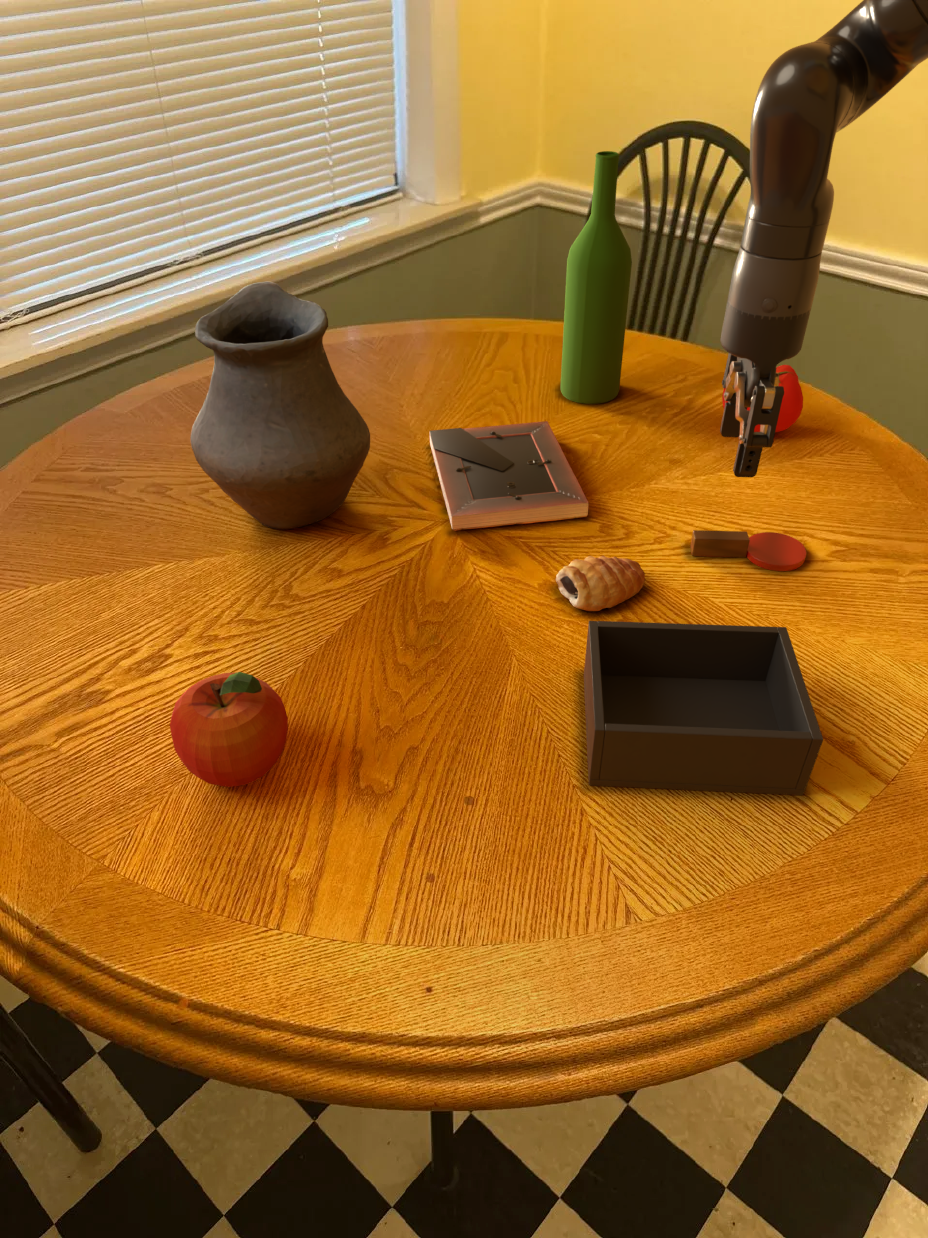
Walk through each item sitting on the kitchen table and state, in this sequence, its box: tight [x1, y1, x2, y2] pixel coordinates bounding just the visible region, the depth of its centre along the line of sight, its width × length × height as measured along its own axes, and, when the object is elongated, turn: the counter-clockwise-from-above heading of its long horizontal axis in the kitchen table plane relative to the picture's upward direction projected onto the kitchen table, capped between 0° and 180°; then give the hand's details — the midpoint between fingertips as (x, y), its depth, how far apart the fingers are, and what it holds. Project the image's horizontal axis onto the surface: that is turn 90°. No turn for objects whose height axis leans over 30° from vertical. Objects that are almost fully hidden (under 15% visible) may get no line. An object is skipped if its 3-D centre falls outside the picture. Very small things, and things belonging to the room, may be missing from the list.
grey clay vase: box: [189, 281, 371, 530], centre depth 100 cm, size 21×22×25 cm
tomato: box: [721, 364, 804, 434], centre depth 118 cm, size 11×11×9 cm
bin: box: [583, 620, 824, 796], centre depth 75 cm, size 18×14×7 cm
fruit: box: [169, 671, 289, 788], centre depth 72 cm, size 10×10×10 cm
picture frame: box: [429, 420, 590, 531], centre depth 110 cm, size 16×2×22 cm
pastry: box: [555, 555, 646, 612], centre depth 92 cm, size 9×7×4 cm
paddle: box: [689, 529, 807, 572], centre depth 97 cm, size 13×7×2 cm, turn 86°
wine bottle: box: [559, 150, 633, 405], centre depth 121 cm, size 9×9×32 cm
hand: (736, 454), depth 90 cm, fingers open, 8 cm apart
